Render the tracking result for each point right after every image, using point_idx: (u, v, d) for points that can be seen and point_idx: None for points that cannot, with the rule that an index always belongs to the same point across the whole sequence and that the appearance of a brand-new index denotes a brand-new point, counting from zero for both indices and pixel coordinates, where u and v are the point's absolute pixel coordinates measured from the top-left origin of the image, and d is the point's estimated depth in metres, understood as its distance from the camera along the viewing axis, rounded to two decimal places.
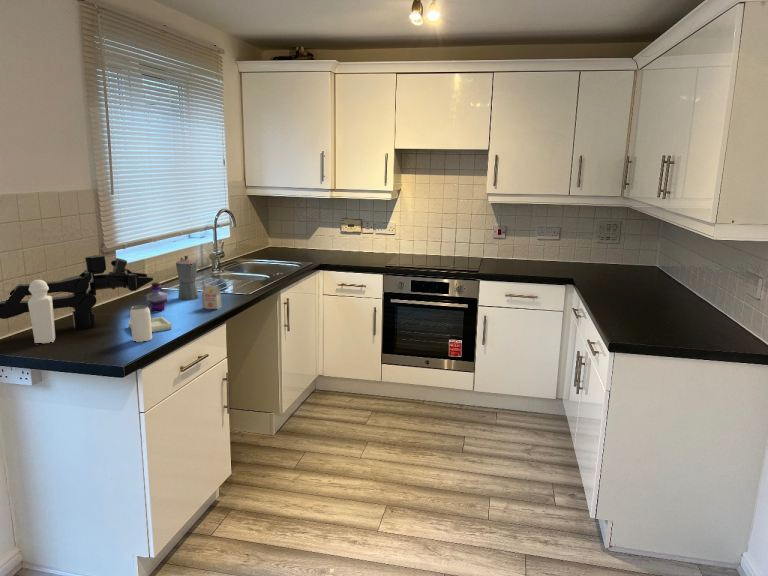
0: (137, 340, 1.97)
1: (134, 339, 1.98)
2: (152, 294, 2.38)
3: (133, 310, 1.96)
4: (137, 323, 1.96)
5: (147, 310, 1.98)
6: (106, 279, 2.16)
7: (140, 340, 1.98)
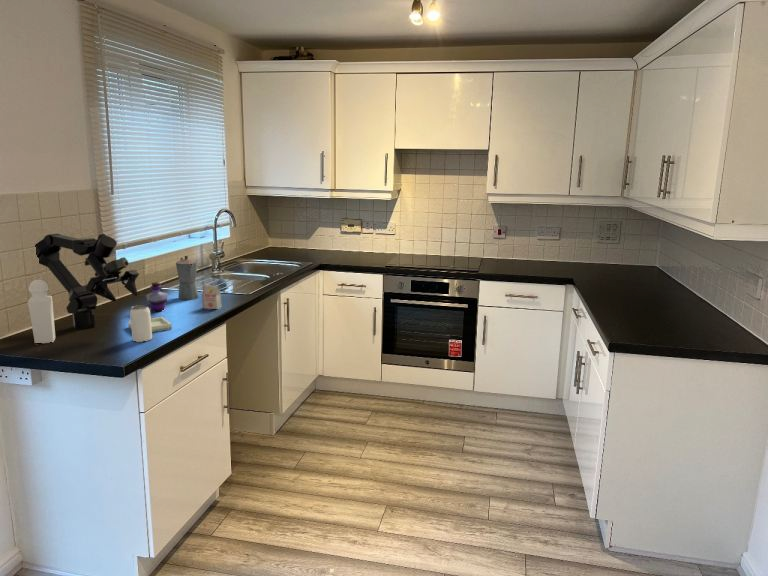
0: (137, 340, 1.97)
1: (134, 339, 1.98)
2: (152, 294, 2.38)
3: (133, 310, 1.96)
4: (137, 323, 1.96)
5: (147, 310, 1.98)
6: (95, 263, 2.02)
7: (140, 340, 1.98)
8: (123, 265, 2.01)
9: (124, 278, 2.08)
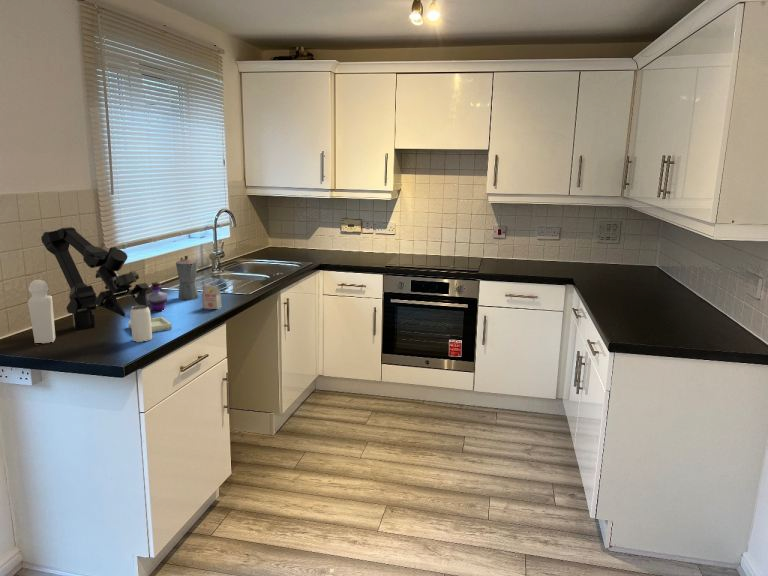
0: (137, 340, 1.97)
1: (134, 339, 1.98)
2: (152, 294, 2.38)
3: (133, 310, 1.96)
4: (137, 323, 1.96)
5: (147, 310, 1.98)
6: (106, 276, 2.00)
7: (140, 340, 1.98)
8: (133, 279, 1.99)
9: (134, 291, 2.05)
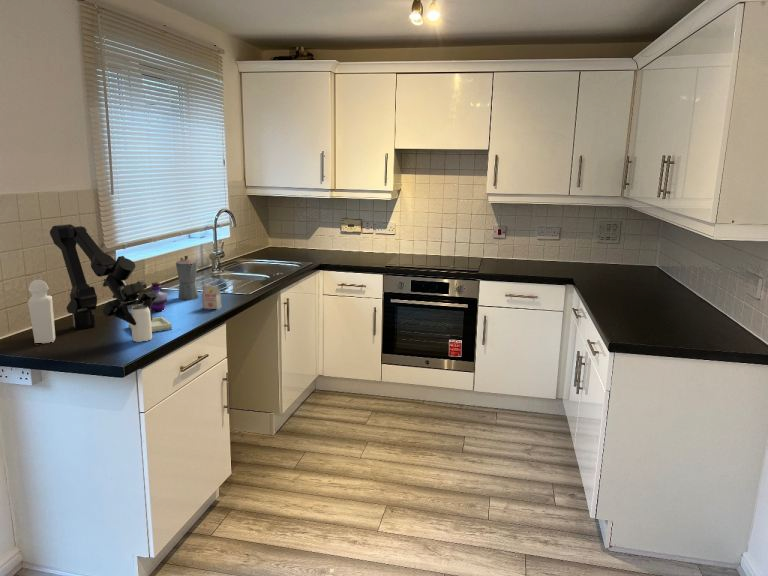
0: (137, 340, 1.97)
1: (134, 339, 1.98)
2: None
3: (133, 310, 1.96)
4: (137, 323, 1.96)
5: (147, 310, 1.98)
6: (113, 285, 1.99)
7: (140, 340, 1.97)
8: (141, 289, 1.97)
9: (139, 301, 2.03)
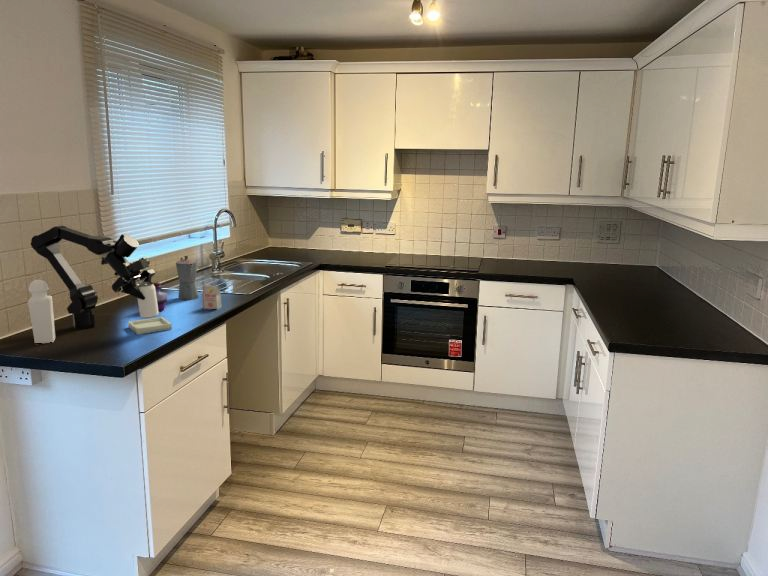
0: (147, 316, 2.07)
1: (143, 315, 2.07)
2: None
3: (141, 287, 2.04)
4: (146, 299, 2.05)
5: (153, 286, 2.07)
6: (117, 263, 2.04)
7: (150, 315, 2.07)
8: (147, 265, 2.06)
9: (140, 278, 2.10)
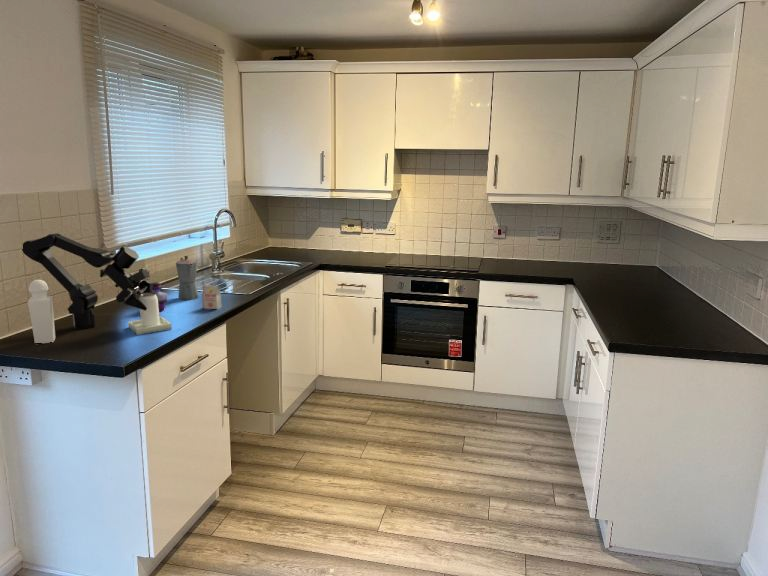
0: (150, 325, 2.12)
1: (146, 324, 2.12)
2: None
3: (145, 297, 2.10)
4: (150, 308, 2.11)
5: (156, 296, 2.14)
6: (117, 274, 2.08)
7: (153, 324, 2.13)
8: (148, 275, 2.11)
9: (141, 287, 2.16)
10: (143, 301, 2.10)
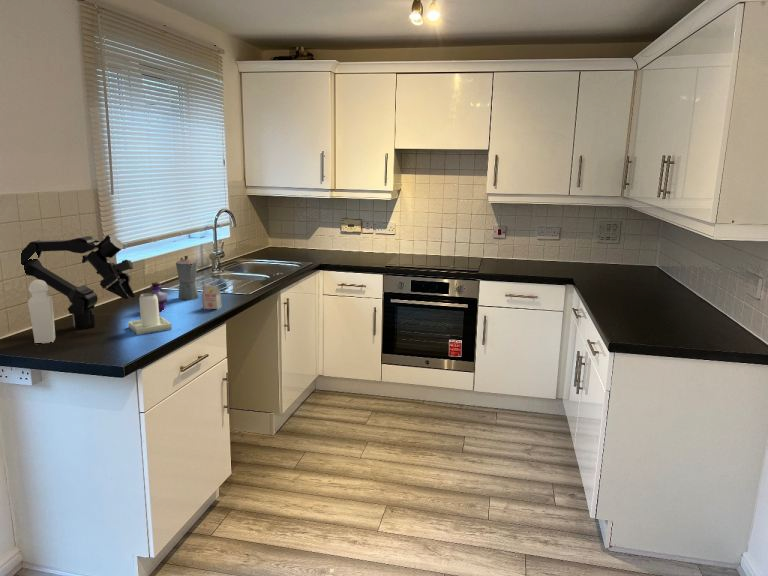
0: (150, 325, 2.12)
1: (146, 324, 2.12)
2: None
3: (145, 297, 2.10)
4: (150, 308, 2.11)
5: (156, 296, 2.14)
6: (100, 262, 2.08)
7: (153, 324, 2.13)
8: (132, 266, 2.14)
9: None
10: (143, 301, 2.10)
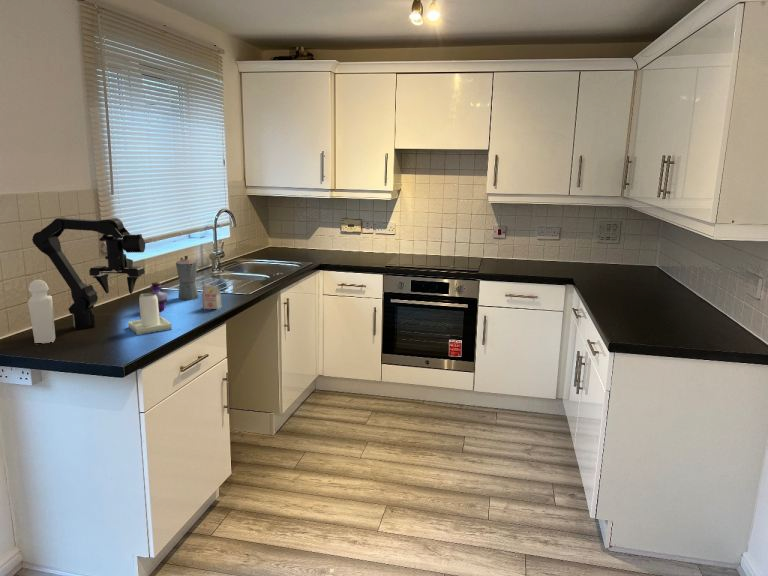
0: (150, 325, 2.12)
1: (146, 324, 2.12)
2: None
3: (145, 297, 2.10)
4: (150, 308, 2.11)
5: (156, 296, 2.14)
6: (115, 251, 2.08)
7: (153, 324, 2.13)
8: None
9: None
10: (143, 301, 2.10)
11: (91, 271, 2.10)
